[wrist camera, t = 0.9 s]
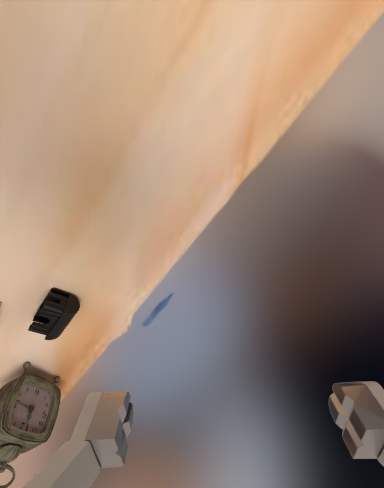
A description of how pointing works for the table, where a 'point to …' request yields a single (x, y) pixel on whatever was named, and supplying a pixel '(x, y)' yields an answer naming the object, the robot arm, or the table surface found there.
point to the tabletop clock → (26, 416)
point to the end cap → (55, 313)
